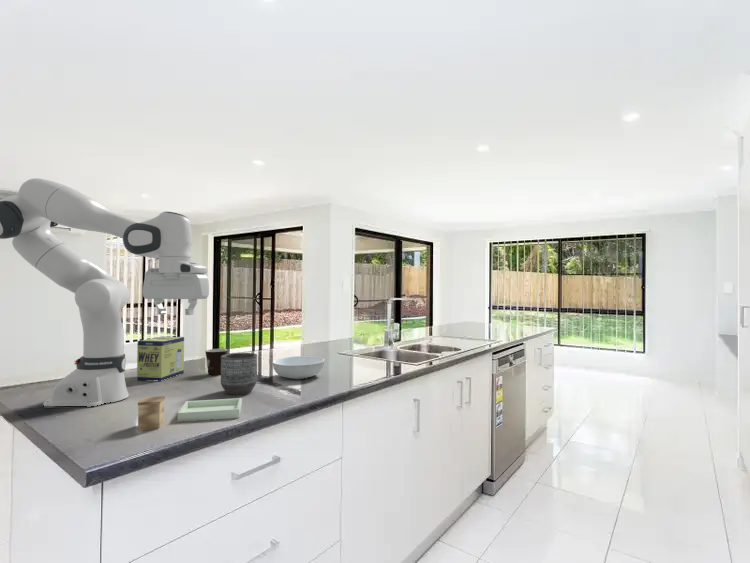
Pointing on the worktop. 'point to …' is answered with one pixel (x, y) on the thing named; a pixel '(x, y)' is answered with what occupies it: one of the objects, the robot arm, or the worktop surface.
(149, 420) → the box
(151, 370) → the protein box
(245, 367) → the planter
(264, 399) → the worktop surface
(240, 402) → the tray
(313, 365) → the serving bowl
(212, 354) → the coffee mug
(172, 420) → the worktop surface
